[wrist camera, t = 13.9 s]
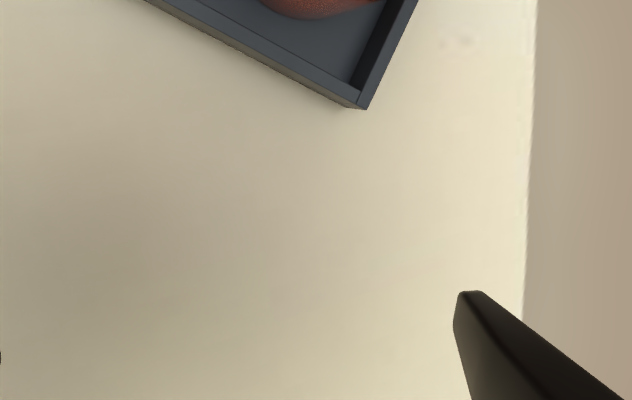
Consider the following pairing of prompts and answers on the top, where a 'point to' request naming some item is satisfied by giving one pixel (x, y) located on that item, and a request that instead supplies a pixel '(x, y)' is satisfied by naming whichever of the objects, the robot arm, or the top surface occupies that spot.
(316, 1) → the tumbler
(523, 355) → the robot arm
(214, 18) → the tray
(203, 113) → the top surface
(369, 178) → the top surface
